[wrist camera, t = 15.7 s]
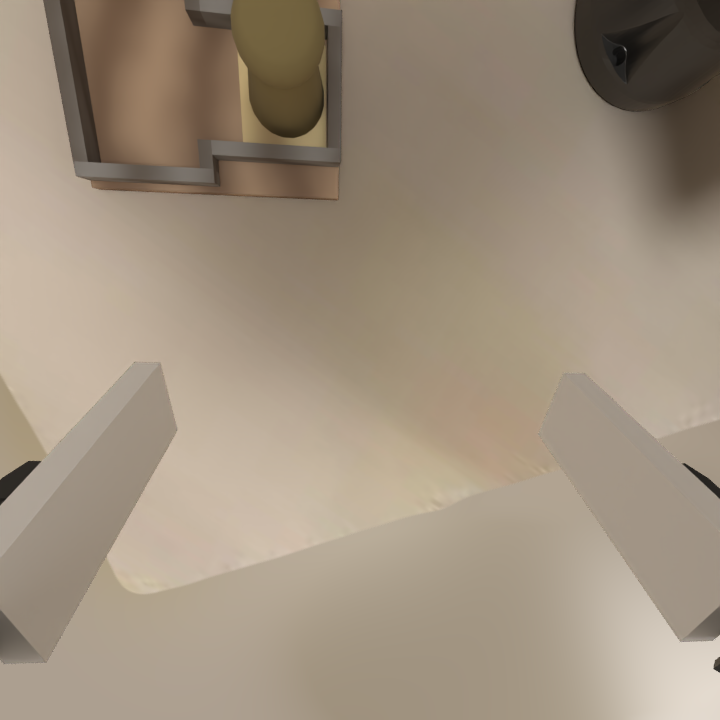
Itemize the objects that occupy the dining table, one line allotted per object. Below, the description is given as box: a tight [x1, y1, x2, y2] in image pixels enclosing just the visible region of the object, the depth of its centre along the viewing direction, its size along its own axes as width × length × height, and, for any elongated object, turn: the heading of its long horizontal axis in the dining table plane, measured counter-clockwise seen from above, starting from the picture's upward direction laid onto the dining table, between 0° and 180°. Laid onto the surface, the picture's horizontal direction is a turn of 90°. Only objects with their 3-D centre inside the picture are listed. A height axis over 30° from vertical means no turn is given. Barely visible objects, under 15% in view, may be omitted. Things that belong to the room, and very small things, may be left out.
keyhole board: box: [43, 0, 342, 200], centre depth 28 cm, size 20×15×3 cm
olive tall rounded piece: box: [231, 0, 325, 138], centre depth 24 cm, size 6×6×11 cm
